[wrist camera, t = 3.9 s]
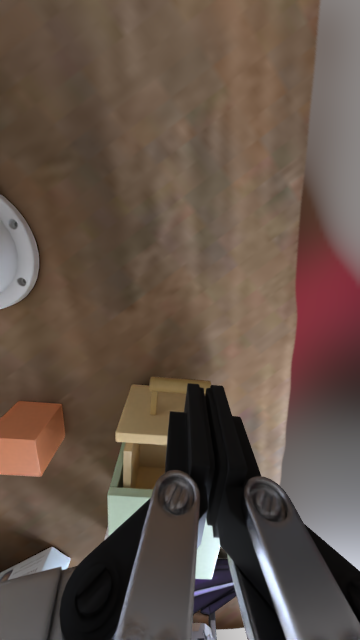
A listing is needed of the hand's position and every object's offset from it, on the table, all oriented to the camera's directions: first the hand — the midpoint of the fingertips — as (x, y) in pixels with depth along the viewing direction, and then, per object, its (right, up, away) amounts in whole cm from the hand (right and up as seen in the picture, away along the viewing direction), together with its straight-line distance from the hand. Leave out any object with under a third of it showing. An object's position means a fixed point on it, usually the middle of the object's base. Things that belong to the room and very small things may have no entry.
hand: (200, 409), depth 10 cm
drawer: (-2, -9, +18) cm, 20 cm away
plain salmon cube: (-20, -9, +19) cm, 29 cm away
